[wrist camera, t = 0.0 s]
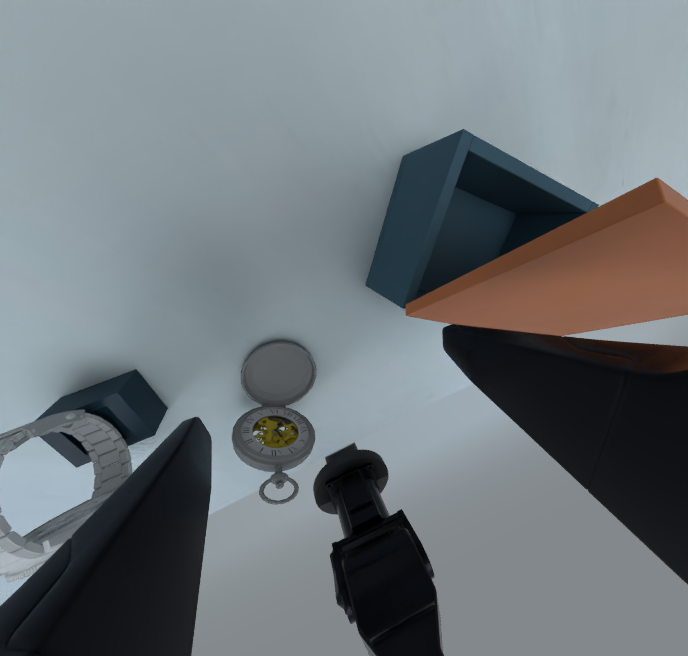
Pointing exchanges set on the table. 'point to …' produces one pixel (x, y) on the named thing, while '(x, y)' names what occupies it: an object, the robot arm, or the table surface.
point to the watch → (81, 458)
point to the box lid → (580, 272)
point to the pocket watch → (275, 412)
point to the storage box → (462, 215)
